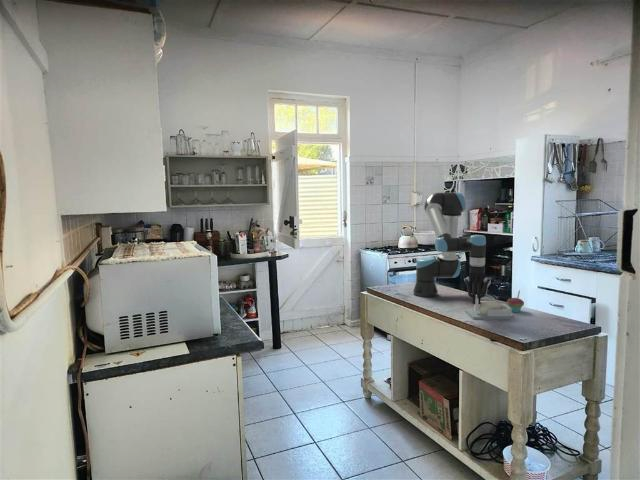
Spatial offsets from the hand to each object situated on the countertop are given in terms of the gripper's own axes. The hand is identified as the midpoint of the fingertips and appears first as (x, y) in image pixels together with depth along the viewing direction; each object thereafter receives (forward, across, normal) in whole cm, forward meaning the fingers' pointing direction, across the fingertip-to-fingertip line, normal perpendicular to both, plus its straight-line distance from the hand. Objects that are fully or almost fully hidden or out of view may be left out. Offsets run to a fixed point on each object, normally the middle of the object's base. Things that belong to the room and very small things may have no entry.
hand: (475, 310), depth 216 cm
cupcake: (+3, +23, +10) cm, 25 cm away
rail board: (+3, +6, 0) cm, 7 cm away
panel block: (+2, +7, 0) cm, 7 cm away
